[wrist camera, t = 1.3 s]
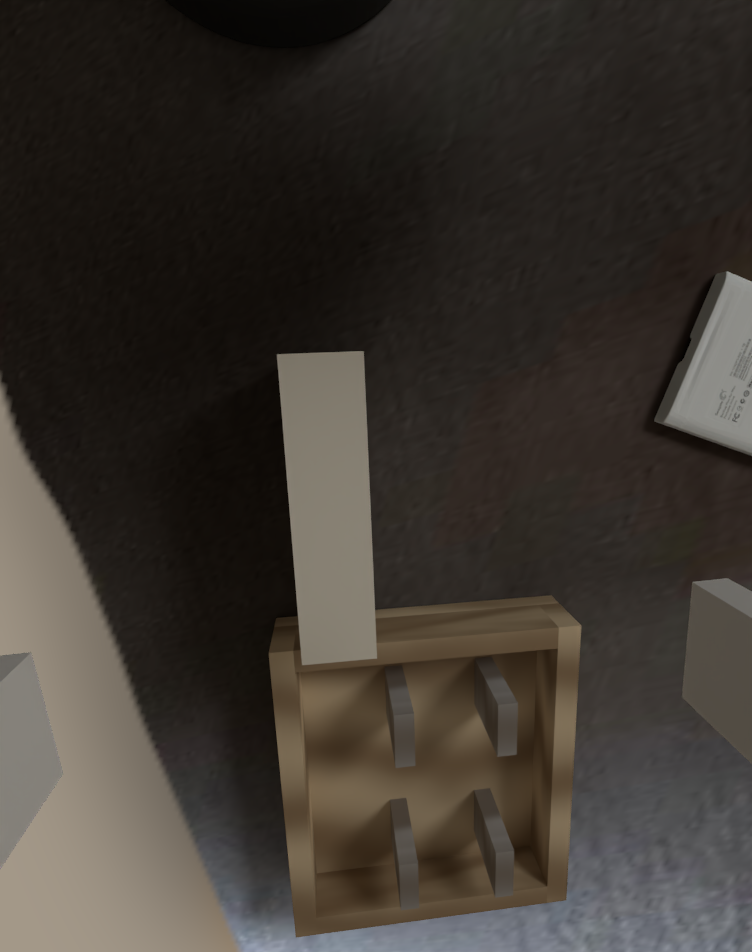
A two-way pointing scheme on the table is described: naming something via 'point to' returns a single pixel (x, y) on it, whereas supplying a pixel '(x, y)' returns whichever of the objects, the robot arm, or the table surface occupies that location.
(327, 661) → the beige rectangular block
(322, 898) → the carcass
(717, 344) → the external hard drive
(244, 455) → the table surface
